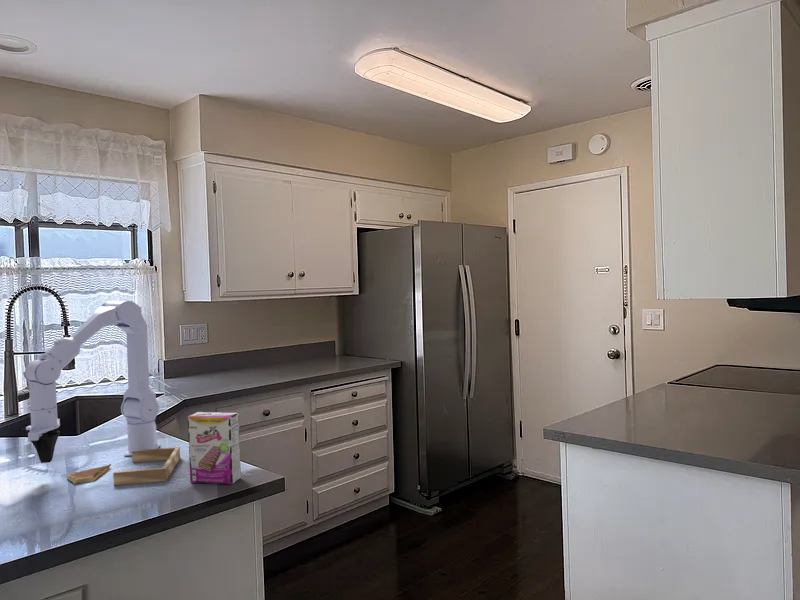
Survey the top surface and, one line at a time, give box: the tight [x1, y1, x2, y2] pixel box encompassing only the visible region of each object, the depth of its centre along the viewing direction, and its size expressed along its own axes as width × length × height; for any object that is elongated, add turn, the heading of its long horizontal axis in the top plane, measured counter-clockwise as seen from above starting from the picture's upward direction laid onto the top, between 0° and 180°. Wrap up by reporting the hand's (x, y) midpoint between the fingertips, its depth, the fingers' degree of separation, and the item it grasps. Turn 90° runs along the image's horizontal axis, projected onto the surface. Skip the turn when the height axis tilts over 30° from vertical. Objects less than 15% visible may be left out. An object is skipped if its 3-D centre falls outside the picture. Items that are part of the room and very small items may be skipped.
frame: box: [112, 446, 181, 486], centre depth 153 cm, size 19×12×3 cm, turn 11°
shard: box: [66, 463, 112, 485], centre depth 150 cm, size 11×8×2 cm
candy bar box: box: [187, 411, 242, 485], centre depth 143 cm, size 11×5×16 cm, turn 80°
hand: (46, 461), depth 148 cm, fingers closed
